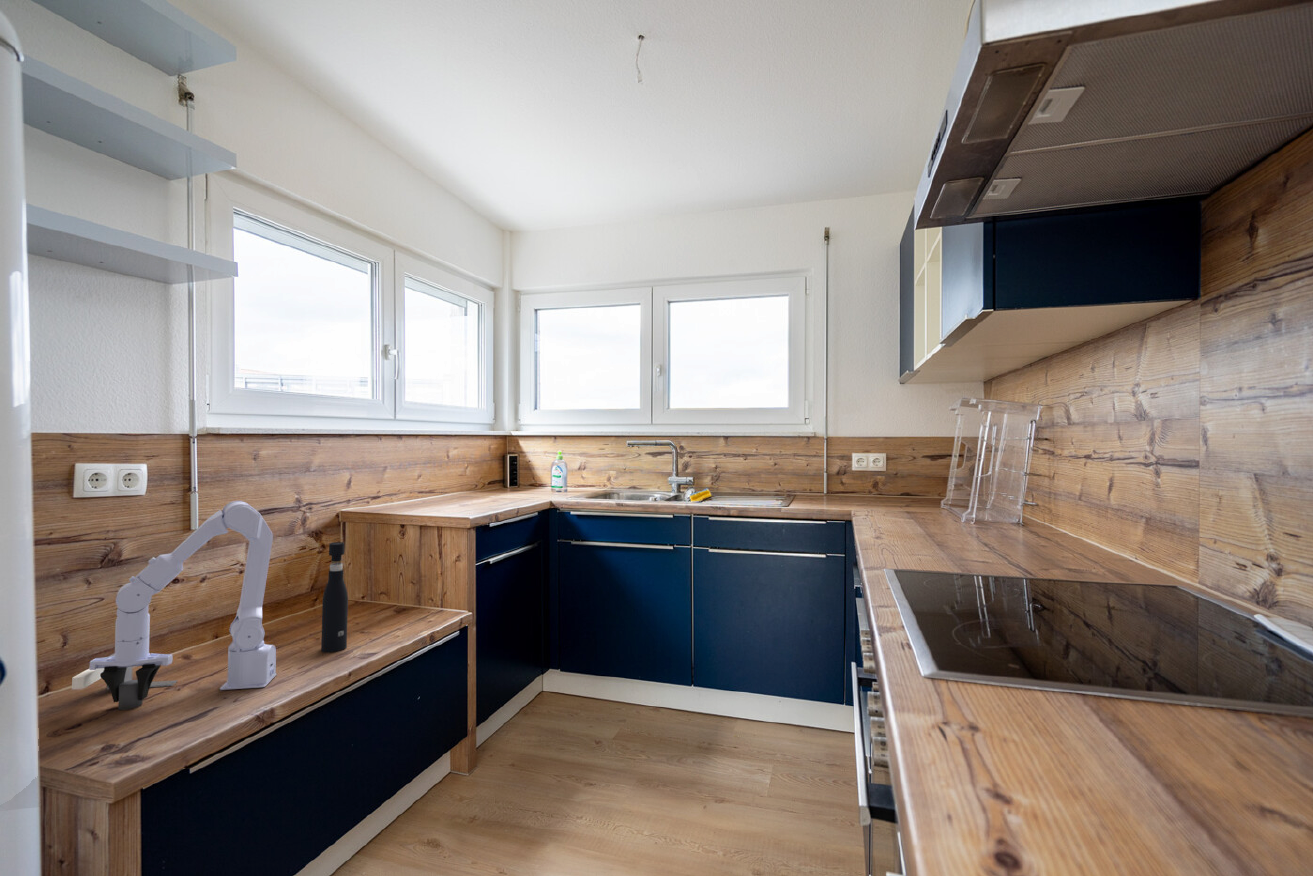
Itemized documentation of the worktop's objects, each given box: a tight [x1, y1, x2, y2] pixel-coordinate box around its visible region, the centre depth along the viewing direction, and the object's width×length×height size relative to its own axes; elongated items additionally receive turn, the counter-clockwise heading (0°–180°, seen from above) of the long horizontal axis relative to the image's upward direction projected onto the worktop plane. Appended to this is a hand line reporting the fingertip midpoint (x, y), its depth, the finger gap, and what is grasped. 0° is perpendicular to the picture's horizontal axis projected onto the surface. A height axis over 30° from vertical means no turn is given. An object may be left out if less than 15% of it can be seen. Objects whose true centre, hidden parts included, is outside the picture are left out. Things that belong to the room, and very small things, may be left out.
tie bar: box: [71, 652, 134, 690], centre depth 135 cm, size 3×16×8 cm, turn 14°
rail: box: [150, 679, 178, 688], centre depth 142 cm, size 11×2×1 cm, turn 104°
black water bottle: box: [320, 541, 349, 653], centre depth 170 cm, size 6×6×30 cm
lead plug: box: [117, 679, 144, 711], centre depth 132 cm, size 4×4×5 cm
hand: (130, 699), depth 132 cm, fingers closed on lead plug, 4 cm apart
